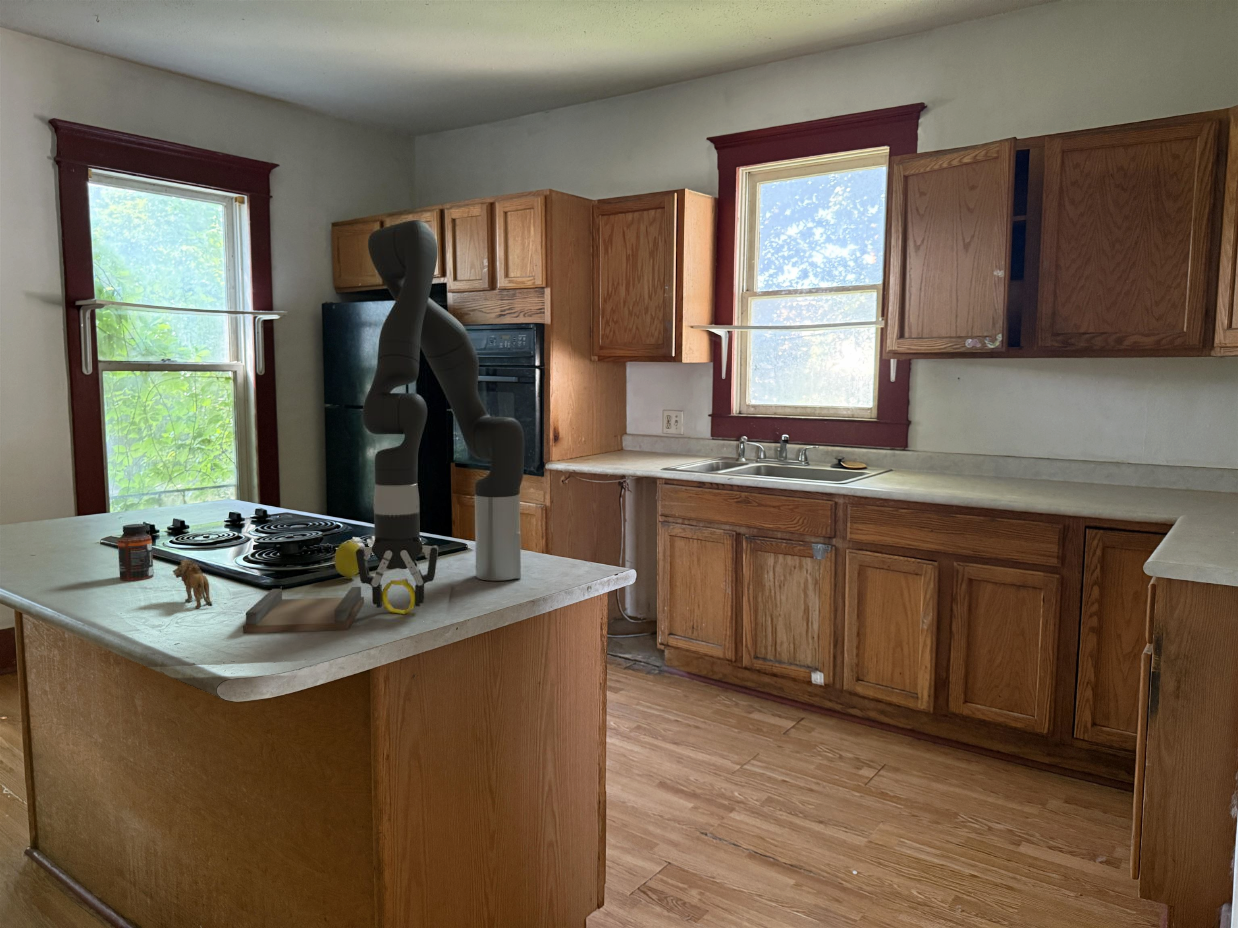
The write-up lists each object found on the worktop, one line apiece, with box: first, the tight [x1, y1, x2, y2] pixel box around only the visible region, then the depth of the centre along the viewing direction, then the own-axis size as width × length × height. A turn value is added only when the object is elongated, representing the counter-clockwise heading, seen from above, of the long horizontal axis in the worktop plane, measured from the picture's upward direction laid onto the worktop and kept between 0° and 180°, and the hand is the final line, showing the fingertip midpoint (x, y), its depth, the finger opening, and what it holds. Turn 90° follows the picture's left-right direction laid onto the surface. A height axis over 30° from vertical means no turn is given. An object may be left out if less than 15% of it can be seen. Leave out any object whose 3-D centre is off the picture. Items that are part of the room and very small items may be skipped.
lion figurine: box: [172, 559, 213, 609], centre depth 152 cm, size 12×4×7 cm, turn 49°
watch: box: [382, 577, 415, 615], centre depth 146 cm, size 6×3×6 cm, turn 74°
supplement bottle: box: [117, 523, 154, 582], centre depth 169 cm, size 6×6×11 cm
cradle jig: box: [242, 586, 365, 634], centre depth 143 cm, size 16×17×3 cm
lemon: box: [334, 539, 359, 580], centre depth 172 cm, size 6×6×8 cm
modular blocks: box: [350, 535, 375, 556], centre depth 193 cm, size 20×7×4 cm, turn 25°
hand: (398, 605), depth 146 cm, fingers closed on watch, 6 cm apart
